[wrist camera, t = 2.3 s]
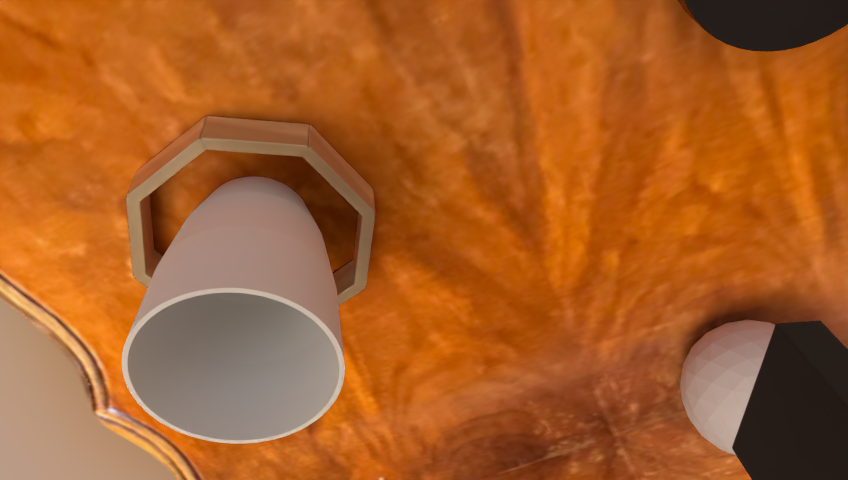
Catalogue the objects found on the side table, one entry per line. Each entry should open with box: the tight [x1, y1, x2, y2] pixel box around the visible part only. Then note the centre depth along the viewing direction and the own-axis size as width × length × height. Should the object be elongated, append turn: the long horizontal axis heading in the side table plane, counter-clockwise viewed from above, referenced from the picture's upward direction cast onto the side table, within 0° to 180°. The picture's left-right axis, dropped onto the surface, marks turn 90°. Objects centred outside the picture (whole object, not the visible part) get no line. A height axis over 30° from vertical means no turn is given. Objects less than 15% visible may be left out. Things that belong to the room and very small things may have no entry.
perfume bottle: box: [680, 320, 775, 456], centre depth 41 cm, size 8×10×12 cm
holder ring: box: [126, 116, 375, 306], centre depth 36 cm, size 11×11×2 cm
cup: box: [122, 176, 345, 444], centre depth 33 cm, size 8×8×10 cm
